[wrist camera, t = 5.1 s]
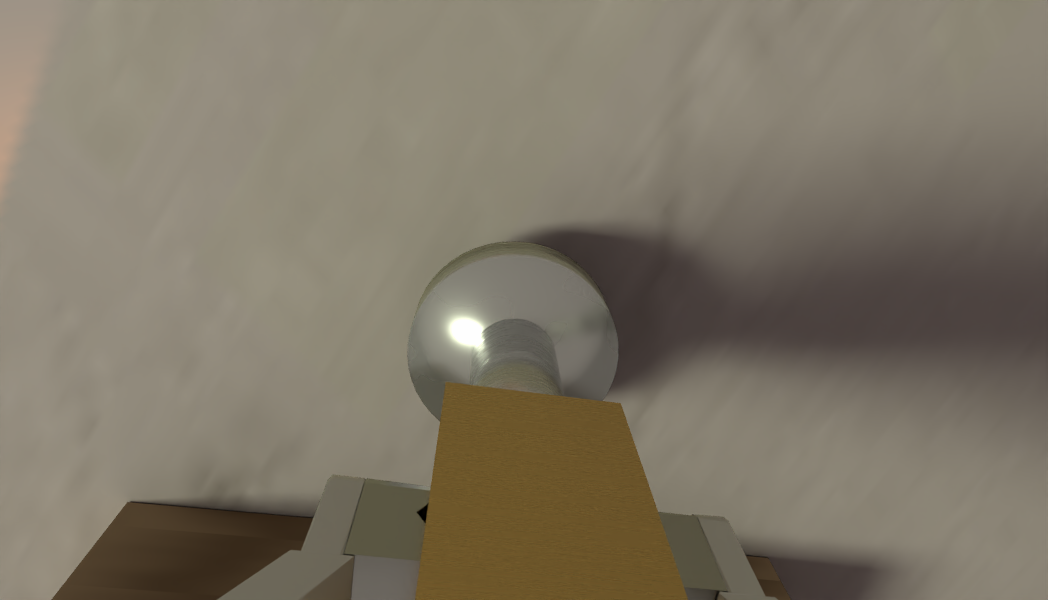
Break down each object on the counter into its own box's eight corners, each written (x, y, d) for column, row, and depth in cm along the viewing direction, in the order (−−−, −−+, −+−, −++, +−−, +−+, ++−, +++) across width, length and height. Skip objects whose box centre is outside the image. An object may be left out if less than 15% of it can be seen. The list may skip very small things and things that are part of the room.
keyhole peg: (629, 256, 16) (832, 590, 6) (589, 431, 18) (701, 897, 8) (424, 227, 16) (309, 540, 6) (404, 409, 18) (290, 877, 8)
